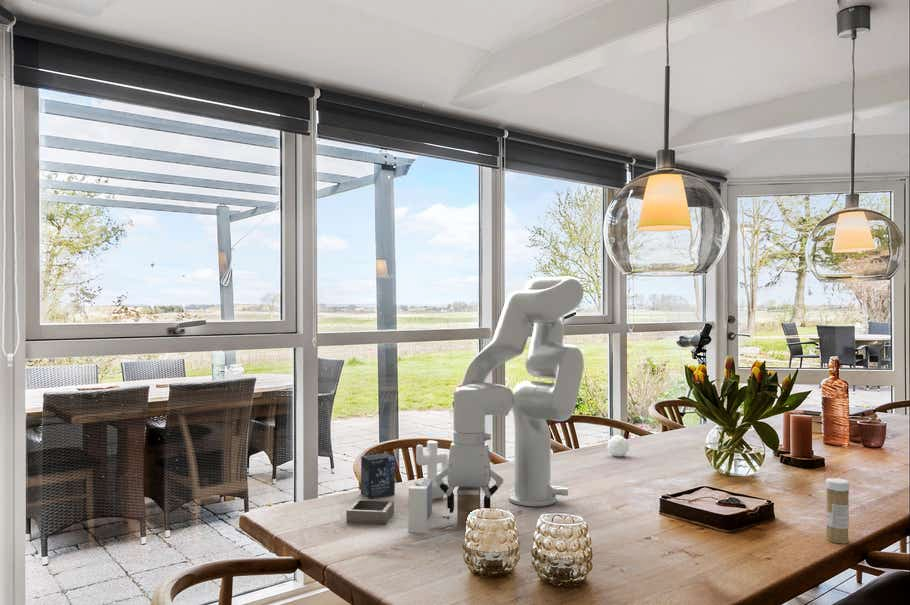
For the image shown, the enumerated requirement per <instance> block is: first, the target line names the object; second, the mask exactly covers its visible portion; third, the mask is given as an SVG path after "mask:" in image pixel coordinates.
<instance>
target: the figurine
mask: <svg viewBox="0 0 910 605" xmlns="http://www.w3.org/2000/svg"><path fill="white" fill-rule="evenodd" d="M438 446H439V442H438V441H437V440H433V439H431V440H426V452H427V453H425V454H424V447H423V445H422V444H417V445H416V447H415V450H416V451H415V456H416V457H415V459H416V460H415V462H416V464H417V465H418V466H420V467H421V466H422V467H423V466H426V471H427V472H426V479H431V480H432V500H435V499H436V500H437V499H442V498H444V497H445V496H446V494H445V492H444V491H443V490H442V489H441V488H440V486H439V485H438V484H437V482H436V481H435V477H436V476H437V475H438V464H440V470H441V472H443V471H444V470H445V469H447V468H448V459H449V455H448V454H447V452H444V451H443V452H442V451H440V452H438V448H439V447H438ZM423 481H424V479H423V480H419V481H413V482H414V486H420V485H421V484H422V482H423ZM443 482H444V483H445V484H446V485H447V486H448V487H449V486H450V485H449V484H448V481H444V480H443Z"/></svg>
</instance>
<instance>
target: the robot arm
mask: <svg viewBox="0 0 910 605" xmlns="http://www.w3.org/2000/svg"><path fill="white" fill-rule="evenodd" d="M583 297H584V288H583V284H582V283H581V281H580V280H579V279H578V278H576V277H573V276H541V277H540V276H539V277H534V278H531V279H529V280H527V282H526V283H525V285H524V288H523V289H522V290H521V289H519V290H515V291H512V292H510V294H508V296H507V297H506V299H505V302H504V305H503V307H502V310H501V314H500V317H499V319H498V322H497V324H496V327H495V331H494V334H493V337H492V339H491V341H490V342H489V343H488V344H487V345H486V346H485V347H484V348H482V350H480V351H479V353H478V354H477V355H476V356H475V357H474V358H473V360H471V362H470V363H469V364H468V367H467V369H466V370H465V373H464V375H463V379H462V382H461V385H460V386H458V387H456V388H455V390H454V391H453V441H452V442H451V443H450V445H449V446H450V447H449V452H448V468H447V469H445V470H444V471H443V472H442V471H441V472H440V473H437V476H436V477H435V481H436V482H437V484H438V485H439V486H440V488H441V489H442V490H443V491H444V492H445V496H446V497H447V498H446V500H447V501H446V508H447V509H449V514H453V513H454V511H455V493H454V490H455V488H456V487H481V490H482V492H483V493H484V495H483V509H484V508H490V509H491V497H492V496H493V495H494V494H495V493H496V492H497V491H498V490H499V488H500V487H501V486H502V485H503V483H504V478H503V477H501V476H500V475H499V474H498V473H496V472H495V471H494V470H492V469H491V457H490V455H491V454H490V448H489V444H488V443H487V441H488V440H489V441H490V440H492V434H489V433H487V432H486V416H501V415H505V414H507V413H508V412H510V411H511V410H512V414H513V415H512V416H513V422H514V490H513V491H512V492H510V493H509V494H508V500H509V502H511V503H513V504H515V505H518V506H523V507H547V506H550V505H554V504H555V503H556V502H557V496H566V497H567V496H569V488H568V487H563V486H555V485H554V484H553V483H552V482H553V481H552V479H551V473H552V472H551V470H552V469H551V467H552V465H551V463H552V462H551V461H552V460H551V458H552V457H551V456H552V454H551V450H552V449H551V446H552V445H551V444H552V442H551V441H552V437H551V430H550V427H549V425H548V423H547V420H548V421H555V422H565V421H567V420H569V419H570V418H571V417H572V416H573V414H574V411H575V408H576V404H577V400H578V396H579V392H580V387H581V384H582V383H581V382H582V379H583V374H584V366H585V363H584V362H585V361H584V357H583V353H582V351H581V350H580V348H579V347H578V346H576V345H574V344H569V343H563V342H564V336H565V324H564V321H563V318H562V317H564V316H566V315H567V314H568V313H570V312H572V311H574V310H575V309H576V308H577V307H578V306H579V305H580V304H581V302H582V300H583ZM532 326H533V327H532ZM531 330H532V332H531ZM530 333H531V338H530V341H529V346H528V350H527V354H526V359H525V370H526V372H527V373H528V374H529V375H530V376H532V377H535V378H540V379H548V380H549V379H551V380H554V383H553V382H545V381H538V380H536V381H535V380H524V381H521V382H518V383H517V384H516V385H515V386H514V387H513V389H510V388H509V387H507V386H506V385H503V384H498V383H491V382H486V380H487V378H488V376H489V375H490V374H491V372H492V371H494V370H495V369H496V368H497V367H498V366H500V365H502V364H504V363H506V362H509V361H511V360H513V359H515V358H518V357H519V356H521V355H522V354H523V353H524V351H525V348H526V346H527V341H528V339H529V336H530ZM445 477H447V483H448V484H449V485H450V486H449V487H448V486H447V485H446V484H445V483H444V482H445V481H444V480H443V479H444V478H445ZM491 479H493V480H494V481H495V483H494V484H492V486H491V487H490V486H489V485H490V481H491ZM443 481H444V482H443Z"/></svg>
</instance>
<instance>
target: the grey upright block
mask: <svg viewBox="0 0 910 605" xmlns="http://www.w3.org/2000/svg"><path fill="white" fill-rule="evenodd" d="M423 480H424V481H423ZM423 480H422V481H423V482H422V484H421V485H420V486H416V485H410V486H409V487H408V503H407V504H408V526H407V527H408V530H407V531H408V533H419V534H420V533H421V534H424V533H425V534H426V533H427V532H428V521H429V519H430V516H431V514H432V513H433V499H432V480H431V479H427V478H425V479H423Z"/></svg>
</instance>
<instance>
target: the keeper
mask: <svg viewBox="0 0 910 605" xmlns="http://www.w3.org/2000/svg"><path fill="white" fill-rule="evenodd" d="M394 513H395V500H390V499H389V500H388V499H386V500H385V499H365V498H364V499H362V498H361V499H360V498H357V499H356V500H355V501H354V502H353V503H352V504H351V505H350V506H349V507H348V508H347V510H346V513H345V514H346V524H353V525H356V524H357V525H359V524H360V525H378V526H379V525H381V526H385V525H386V526H387V524H388V522H389V521H390V519H391V518H392V516H393V515H394Z"/></svg>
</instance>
